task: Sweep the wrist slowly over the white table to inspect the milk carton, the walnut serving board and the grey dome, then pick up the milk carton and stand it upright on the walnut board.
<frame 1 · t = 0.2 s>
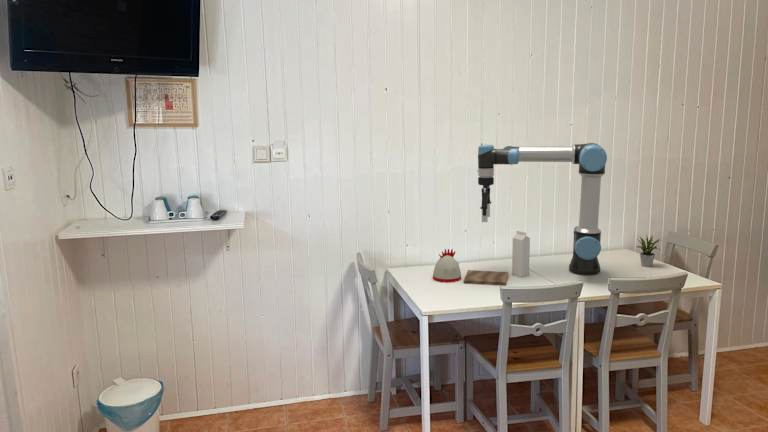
hand: (485, 219, 308), 28 cm above the table, fingers open, 13 cm apart
walnut board: (486, 279, 304), on the table
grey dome: (447, 278, 307), on the table
milk: (520, 275, 310), on the table
house plant: (648, 266, 320), on the table
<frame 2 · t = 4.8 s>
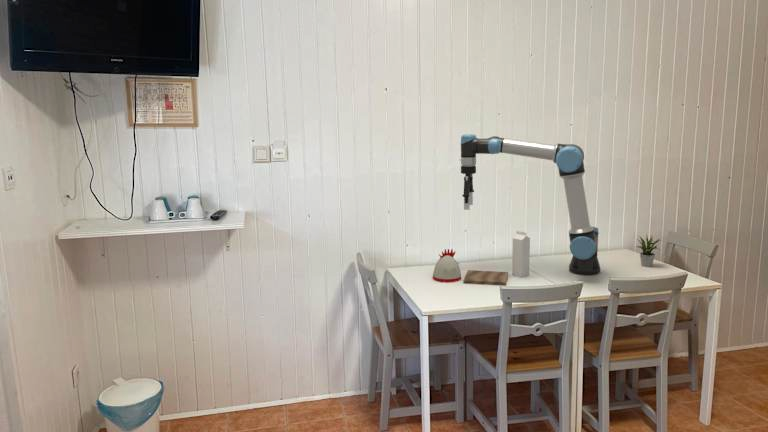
hand: (468, 207, 316), 33 cm above the table, fingers open, 13 cm apart
nothing on the table moved.
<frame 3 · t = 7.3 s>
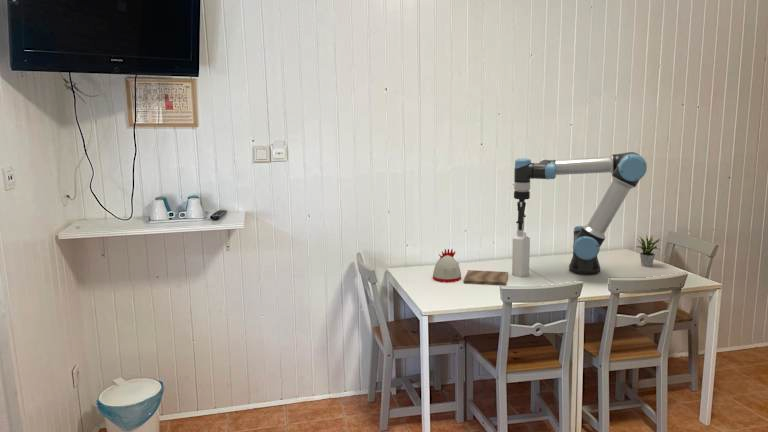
hand: (520, 233, 306), 21 cm above the table, fingers open, 13 cm apart
nothing on the table moved.
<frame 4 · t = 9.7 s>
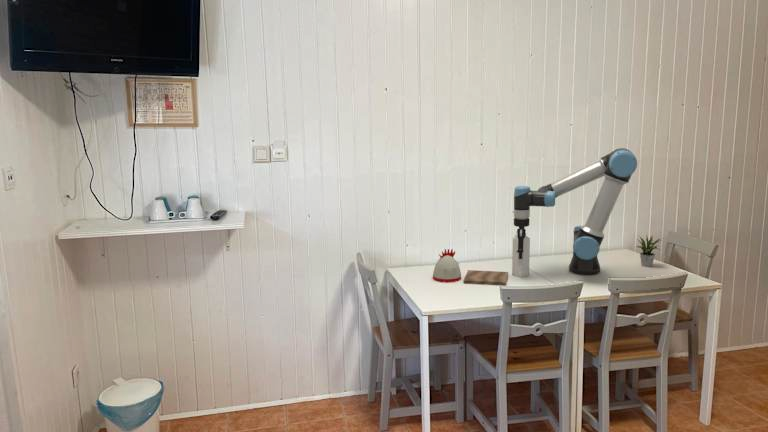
hand: (520, 262, 309), 6 cm above the table, fingers closed on milk, 8 cm apart
milk: (520, 275, 310), on the table, touching gripper
everything else where it was.
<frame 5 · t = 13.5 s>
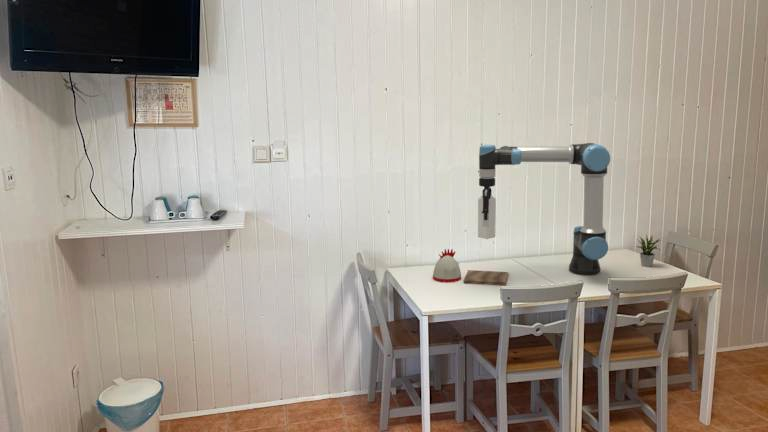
hand: (486, 224, 299), 27 cm above the table, fingers closed on milk, 8 cm apart
milk: (486, 237, 300), point 21 cm above the table, touching gripper
everything else where it was.
when the fingers open (9 cm above the table, at t = 17.7 s): milk drops 1 cm, resting on walnut board.
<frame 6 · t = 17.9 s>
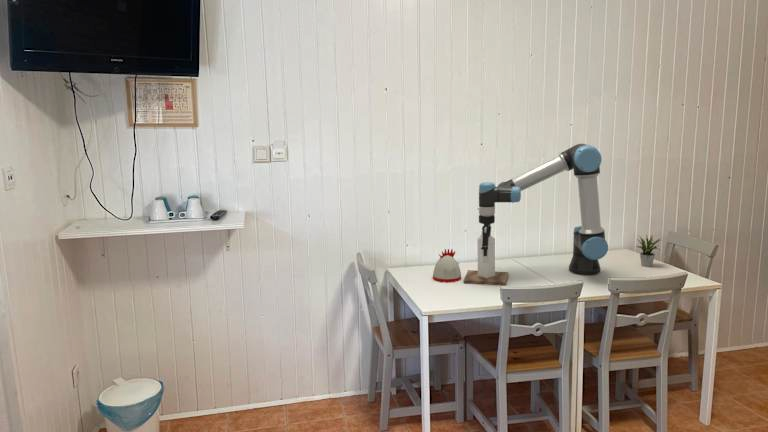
hand: (486, 259, 302), 10 cm above the table, fingers open, 10 cm apart
milk: (486, 276, 304), point 1 cm above the table, touching walnut board
everything else where it was.
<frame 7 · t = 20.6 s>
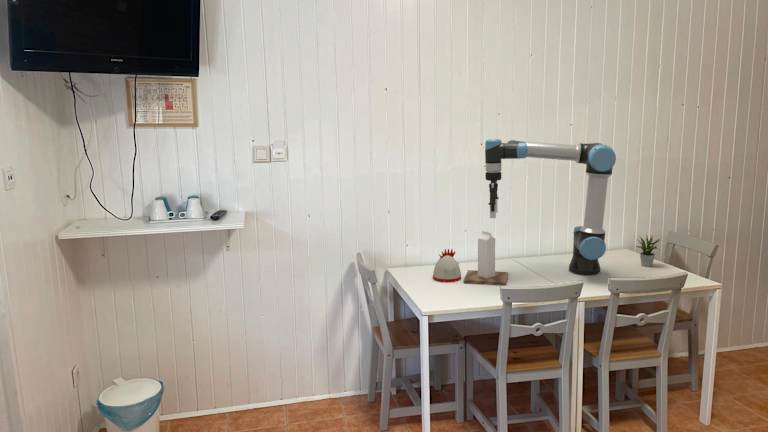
hand: (493, 215, 301), 31 cm above the table, fingers open, 13 cm apart
nothing on the table moved.
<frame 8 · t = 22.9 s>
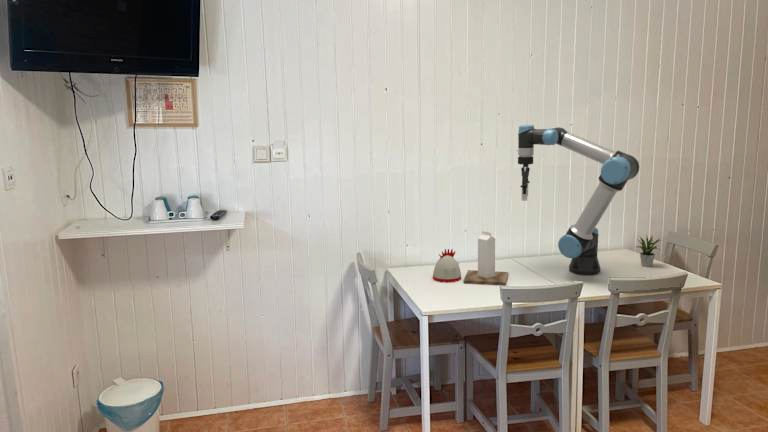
hand: (524, 198, 314), 37 cm above the table, fingers open, 13 cm apart
nothing on the table moved.
at the end: milk inside the target area on the walnut board (0.0 cm from its centre), point 1.3 cm above the walnut board's base; milk tilted 0°; the gripper is holding nothing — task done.
